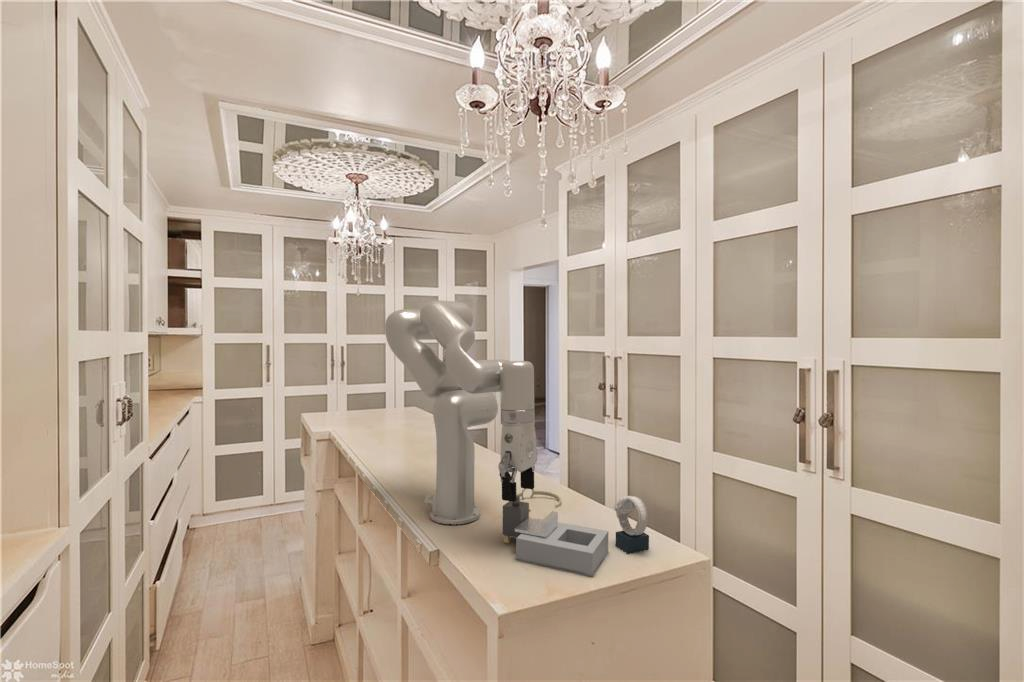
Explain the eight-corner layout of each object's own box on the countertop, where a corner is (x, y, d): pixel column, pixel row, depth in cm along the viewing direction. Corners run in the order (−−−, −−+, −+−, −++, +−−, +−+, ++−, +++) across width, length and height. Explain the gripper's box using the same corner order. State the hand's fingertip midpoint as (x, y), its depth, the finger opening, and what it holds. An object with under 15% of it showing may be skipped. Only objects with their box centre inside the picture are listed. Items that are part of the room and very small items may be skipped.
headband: (518, 506, 129) (503, 489, 138) (517, 520, 129) (502, 502, 138) (568, 498, 135) (550, 483, 144) (567, 512, 136) (549, 495, 144)
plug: (502, 542, 111) (502, 498, 111) (510, 535, 115) (511, 492, 115) (520, 546, 109) (521, 501, 109) (528, 539, 113) (529, 495, 113)
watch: (630, 538, 114) (631, 490, 114) (654, 553, 107) (654, 501, 106) (610, 542, 112) (610, 493, 111) (632, 557, 104) (633, 504, 104)
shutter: (514, 531, 105) (514, 517, 105) (527, 520, 112) (528, 506, 112) (545, 537, 102) (546, 522, 102) (557, 525, 109) (557, 511, 109)
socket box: (516, 560, 103) (516, 538, 103) (538, 538, 114) (538, 518, 113) (592, 576, 96) (592, 553, 96) (608, 552, 107) (608, 531, 107)
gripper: (516, 423, 102) (517, 508, 102) (547, 412, 118) (548, 485, 118) (484, 421, 105) (485, 503, 105) (518, 411, 121) (519, 482, 121)
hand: (518, 494), depth 111 cm, fingers open, 9 cm apart
